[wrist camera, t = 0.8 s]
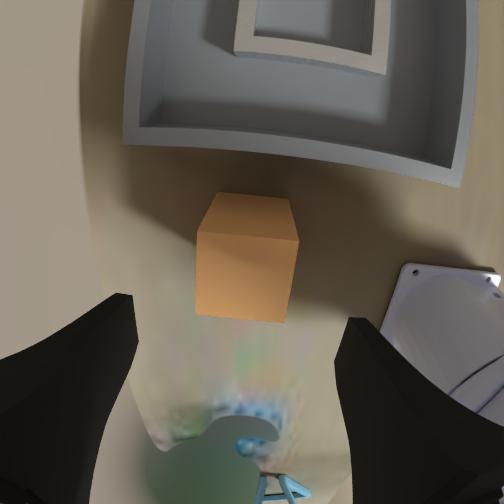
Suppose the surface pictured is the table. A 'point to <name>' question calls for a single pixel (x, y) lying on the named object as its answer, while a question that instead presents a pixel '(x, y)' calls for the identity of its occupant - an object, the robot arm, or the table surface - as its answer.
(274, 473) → the table surface
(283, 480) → the chair
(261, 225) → the orange brown rectangular block
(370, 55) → the socket
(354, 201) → the table surface
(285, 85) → the walled box
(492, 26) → the table surface
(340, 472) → the table surface
